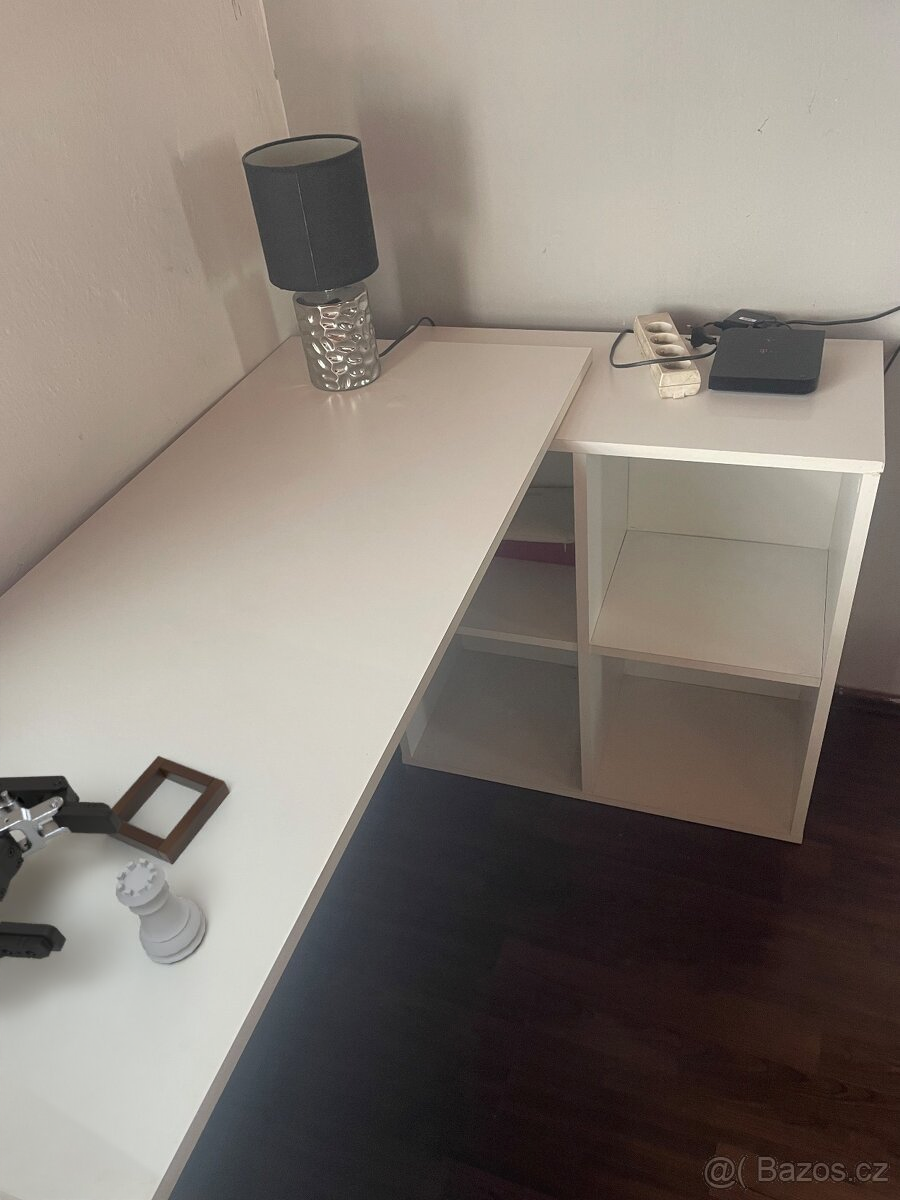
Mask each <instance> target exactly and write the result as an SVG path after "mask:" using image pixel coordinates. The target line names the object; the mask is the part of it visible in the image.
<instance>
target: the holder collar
mask: <svg viewBox="0 0 900 1200" xmlns="http://www.w3.org/2000/svg"><path fill="white" fill-rule="evenodd" d="M165 779H166V780H169V781H171V782H174V783H176V784H179V785H182V786H183V787H187V788H188V789H191V790H194V791H197V792H199V793H201V794H200V795H199V797H198V798H197V799H196V800H195V801H194V803H193V804H192V805H191V807H190V808H189V809H188V810H187V812H186V813H185V814H184V815H183V817H182V818H181V819H180V820H179V821H178V823H176V825H175V826H174V828H173V829H172V830H171V831H170V833H168V835H167V836H166V837H165V838H163V837H160V836H159V835H157V834H154V833H152V832H149V831H147V830H145V829H142V828H140V827H137V826H136V825H133V824H131V823H129V821H130V819H132V818H133V817H134V815H135V814H136V813H137V812H138V810H139V809H140V808H141V807H142V806H143V805H144V803H145V802H146V801H147V800H149V798H150V797H151V796H152V795H153V793H154V792H156V790H157V789H158V787H159V786H161V784H162V783H163V782H164V781H165ZM229 794H230V790H229V788H228V786H227V784H226V782H225V780H223V779H220V778H217V777H215V776H212V775H209V774H207V773H204V772H201V771H199V770H197V769H194V768H191V767H189V766H186V765H183V764H181V763H180V762H179V763H178V762H176V761H174V760H171V759H168V758H165V757H163V756H161V755H157V756H156V758H155V759H154V760H153V761H152V762H151V764H149V766H147V768H146V769H145V770H144V771H143V772H142V774H140V776H139V777H138V778H137V779H136V780H135V781H134V782H133V783H132V784H131V786H130V787H129V788H128V789H127V791H126V792H125V793H124V794H123V795H121V797H120V798H119V799H118V800H117V802H115V804H114V805H113V806H112V807H111V810H112V811H113V812H114V813H115V815H116V816H117V818H118V819H119V821H120V822H121V826H120V828H119V830H118V832H117V834H106V835H107V836H109V837H111V838H113V839H115V840H118V841H119V842H122V843H124V844H126V845H129V846H131V847H133V848H135V849H137V850H139V851H142V852H144V853H147V854H148V855H151V856H153V857H155V858H157V859H159V860H162V861H164V862H166V863H169V864H171V865H173V864H175V862H176V861H177V859H178V858H179V857H180V856H181V854H182V853H183V852H184V850H185V849H186V848H187V847H188V845H189V844H190V843H191V842H192V840H193V839H194V838H195V837H196V835H197V834H198V833H199V831H200V830H202V828H203V827H204V825H205V824H206V822H207V821H208V819H209V818H210V817H211V816H212V815H213V814H214V813H215V811H216V810H217V809H218V808H219V806H220V805H221V803H222V802H223V801H224V800H225V799H226V797H227V796H228V795H229Z"/></svg>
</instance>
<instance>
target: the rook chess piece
mask: <svg viewBox="0 0 900 1200" xmlns="http://www.w3.org/2000/svg"><path fill="white" fill-rule="evenodd" d="M125 867H127V869H126V870H125V871H123V870H119V871H118V874H117V875H116V879H117V880H118V882H117V883H115V885H116V887H115V888H116V889H115V896H116V898H117V900H118V902H119V903H120V904H122V905H123V906H125V907H128V909H129V910H130V912H132V913H133V914H134V915H137V916H138V918H139V920H140V925H139V935H138V938H139V941H140V944H141V947H142V949H143V950H144V952H145V954H146V956H147V957H148V958H149V959H151V960H152V961H153V962H155V963H160V964H171V963H174V962H179V961H181V960H183V959H184V958H186V957H188V956H189V955H190V954H192V953H193V952H194V950H195V949H196V948H197V947H198V946H199V944H200V943H201V942H202V939H203V936H204V934H205V931H206V918H205V916H204V913H203V911H202V910H201V909H200V908H199V907H198V906H197V904H196V903H194V902H193V901H191V900H190V899H188V898H186V897H181V896H177V895H175V894H174V893H173V892H171V890H170V884H169V882H168V881H167V880H166V872H165V870H164V867H163V866H162V865H160V864H159V863H157V862H155V861H149V860H148V859H146V858H139V860H138V863H135V862H134V860H131V861H129V862H128V863H126V864H125Z"/></svg>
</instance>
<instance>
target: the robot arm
mask: <svg viewBox="0 0 900 1200" xmlns="http://www.w3.org/2000/svg"><path fill="white" fill-rule="evenodd" d="M111 809H112V807H110V805H109V804H107V803H105V802H101V801H100V802H99V801H98V802H95V801H91V802H90V801H80V796H79V795H78V794H77V792H75V790H74V789H73V787H72V786H71V785H70V783H69V780H68V779H67V777H65V775H34V776H33V775H31V776H3V777H2V776H1V777H0V902H3V900H4V899H5V897H6V895H7V894H8V892H9V891H8V890H9V887H10V883H11V881H12V879H13V878H14V877H15V876H16V874H17V873H18V872H19V871H20V869H21V867H22V865H24V864H23V863H24V862H25V859H24V858H26V857H28V856H30V855H32V854H34V853H36V852H39V851H41V850H43V849H44V848H45V847H46V845H47V842H48V841H49V840H52V839H53V838H56V837H58V836H59V835H62V834H63V833H66V832H67V831H69V832H70V833H71V834H89V835H91V834H93V835H107V834H117V832H118V830H119V828H120V826H121V822H120V821H119V819H118V818H117V816H116V815H115V813H114V812H113V811H112V810H111ZM50 818H51V819H50ZM47 819H50V820H48V821H46V820H47ZM43 821H46V822H45V823H42V822H43ZM39 823H42V824H39ZM12 831H21V833H23V835H24V836H25V837H24V838H22V839H20V840H19V841H17V840H16V838H15V837H14V836H13V835H12V833H11V832H12ZM66 942H67V938H66V937H65V936H64V934H63V933H62V932H61V931H60V930H59V928H57V927H56V926H55V925H52V924H48V923H34V922H33V923H32V922H18V921H17V922H16V921H14V922H13V921H0V960H2V959H4V958H16V959H17V958H18V959H32V960H33V959H34V960H36V959H37V960H42V959H45V958H48V957H50V955H51V953H52V952H53V953H54V952H55V953H60V952H61V951H62V950H63V948H64V946H65V943H66Z"/></svg>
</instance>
